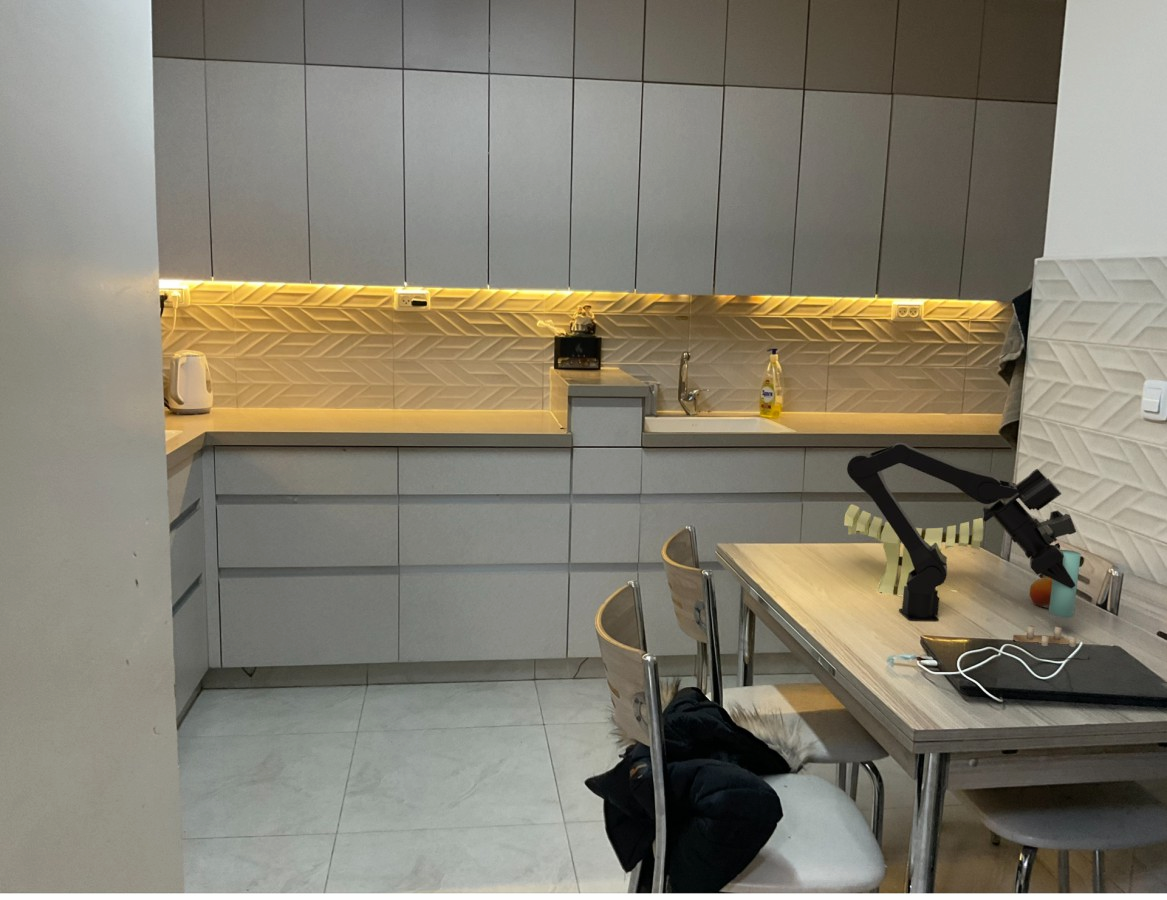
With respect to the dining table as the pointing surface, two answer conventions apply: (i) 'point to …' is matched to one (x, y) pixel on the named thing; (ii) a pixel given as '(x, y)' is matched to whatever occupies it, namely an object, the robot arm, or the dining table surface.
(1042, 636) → the base
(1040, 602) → the fruit
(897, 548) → the slatted curved stool
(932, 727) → the dining table surface
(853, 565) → the dining table surface
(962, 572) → the dining table surface
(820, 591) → the dining table surface
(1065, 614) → the post
